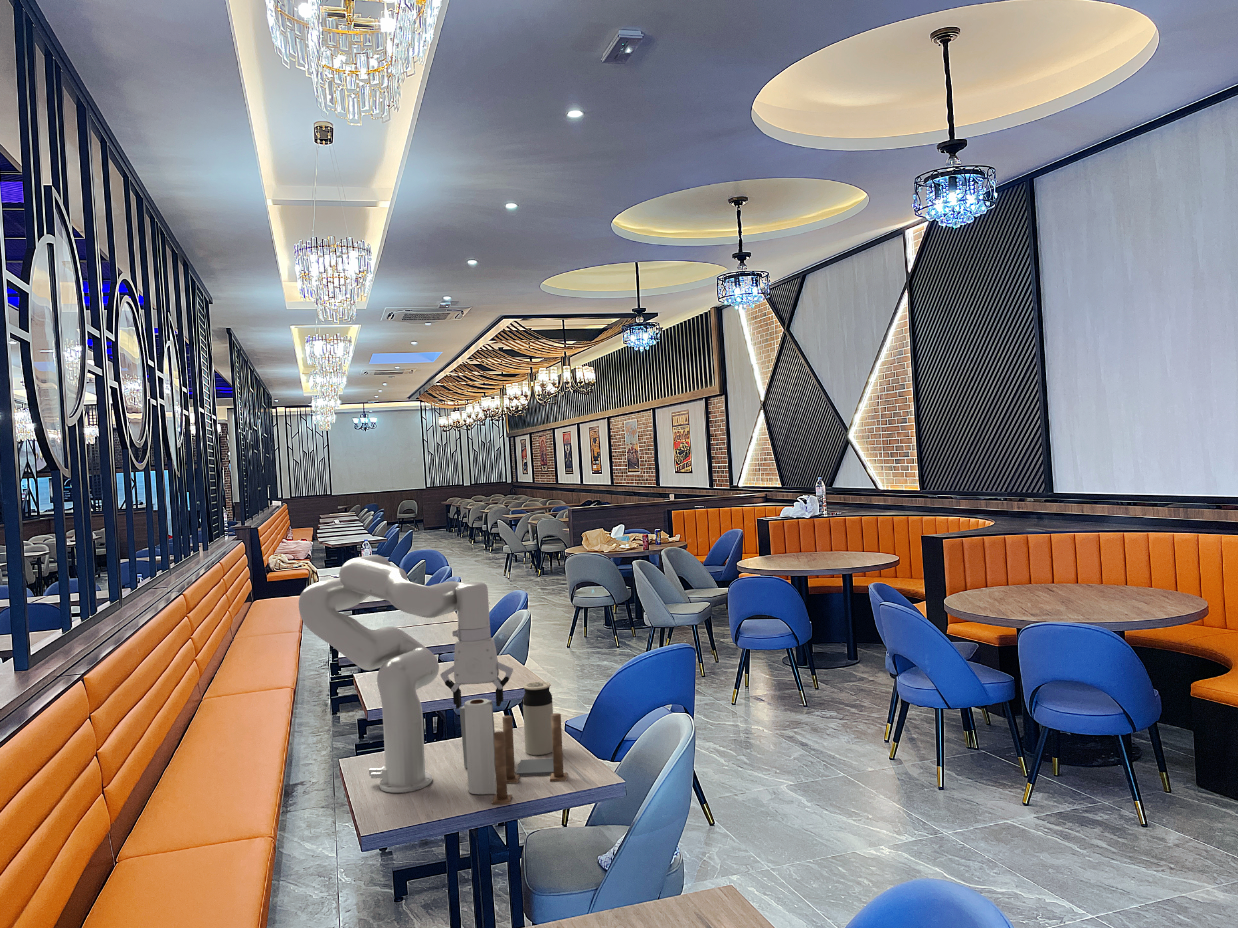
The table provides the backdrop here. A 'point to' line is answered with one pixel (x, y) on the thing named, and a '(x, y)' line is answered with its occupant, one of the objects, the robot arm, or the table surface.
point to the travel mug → (537, 718)
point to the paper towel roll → (480, 746)
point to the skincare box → (462, 717)
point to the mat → (535, 767)
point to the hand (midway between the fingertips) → (478, 705)
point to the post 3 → (557, 749)
